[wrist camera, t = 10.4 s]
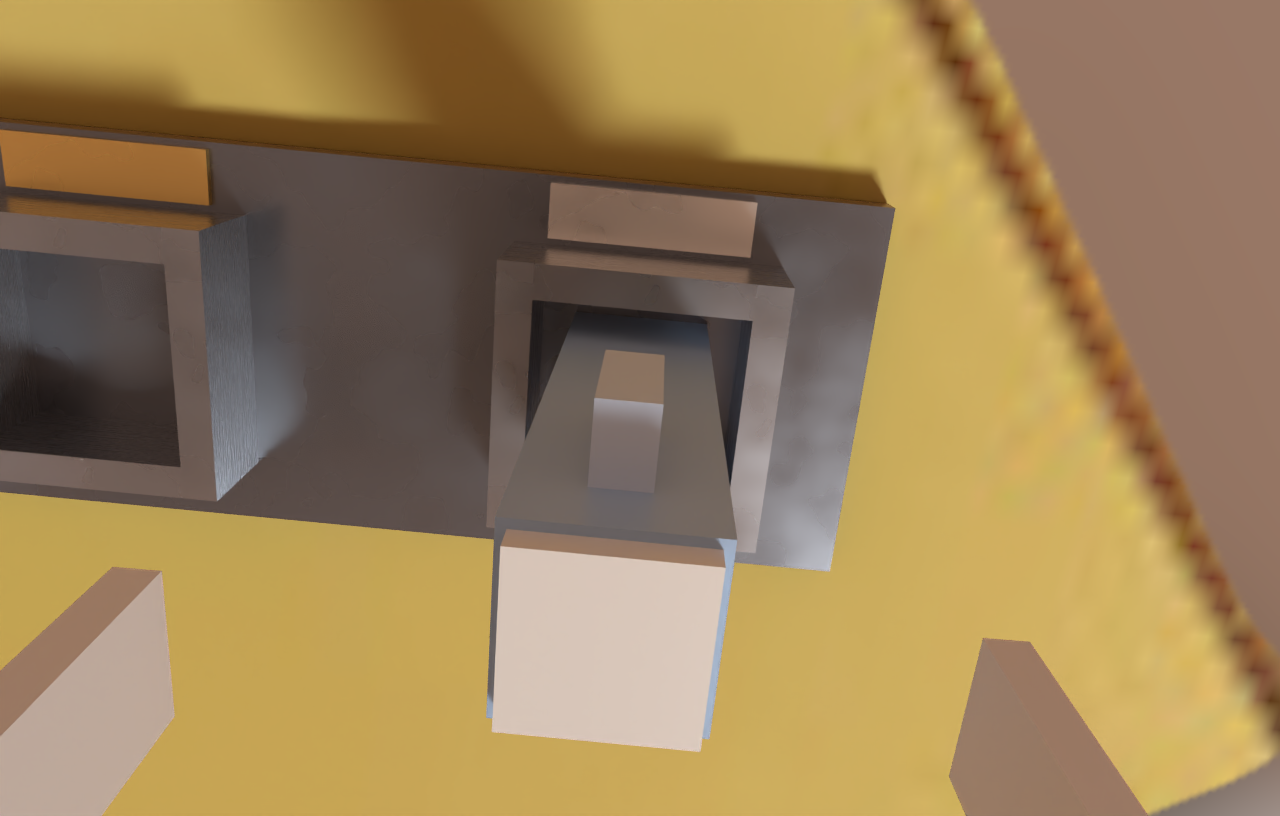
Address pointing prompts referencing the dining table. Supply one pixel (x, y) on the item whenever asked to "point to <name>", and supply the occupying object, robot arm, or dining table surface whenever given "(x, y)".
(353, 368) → the panel
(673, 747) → the plug
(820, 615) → the dining table surface
